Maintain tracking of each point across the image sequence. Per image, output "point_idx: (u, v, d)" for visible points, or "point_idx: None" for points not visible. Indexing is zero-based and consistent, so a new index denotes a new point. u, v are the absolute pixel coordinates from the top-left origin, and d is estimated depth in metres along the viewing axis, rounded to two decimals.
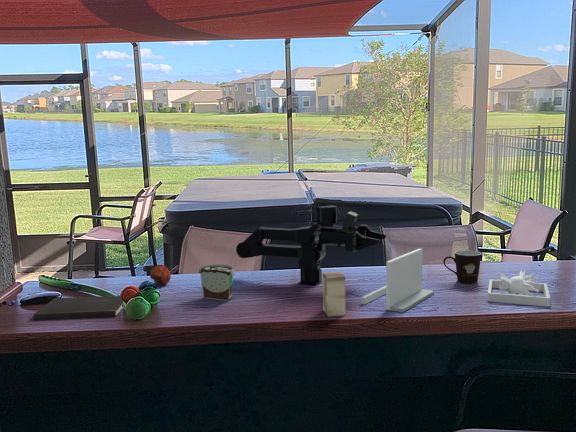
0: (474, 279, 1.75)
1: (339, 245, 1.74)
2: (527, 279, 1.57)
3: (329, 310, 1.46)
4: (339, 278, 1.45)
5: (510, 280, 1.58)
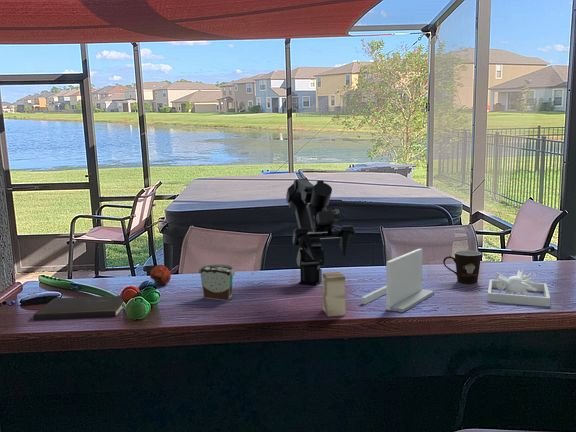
0: (474, 279, 1.75)
1: (311, 226, 1.66)
2: (525, 278, 1.58)
3: (329, 310, 1.46)
4: (339, 278, 1.45)
5: (508, 280, 1.59)
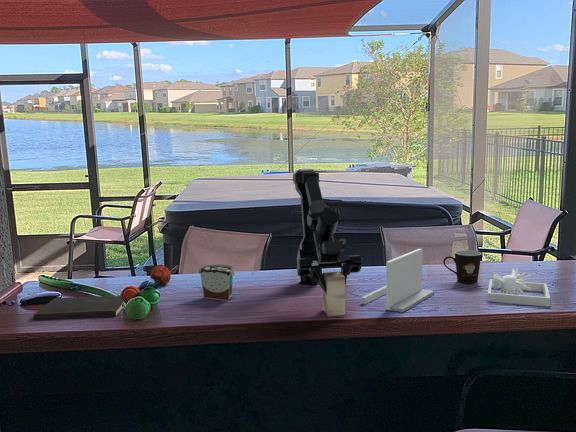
0: (474, 279, 1.75)
1: (317, 254, 1.57)
2: (519, 277, 1.59)
3: (329, 310, 1.46)
4: (339, 278, 1.45)
5: (503, 279, 1.60)
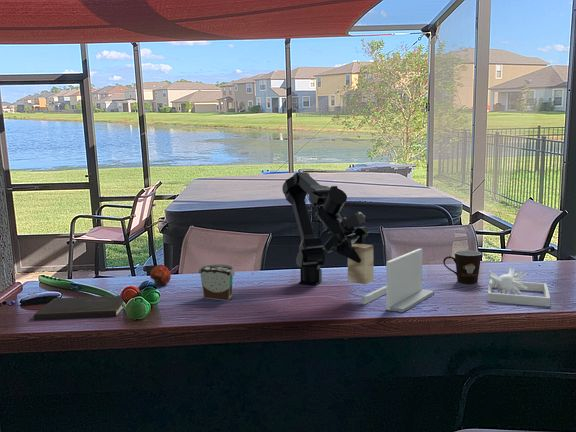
0: (474, 279, 1.75)
1: (327, 231, 1.62)
2: (516, 277, 1.60)
3: (365, 278, 1.56)
4: (370, 247, 1.57)
5: (499, 278, 1.61)
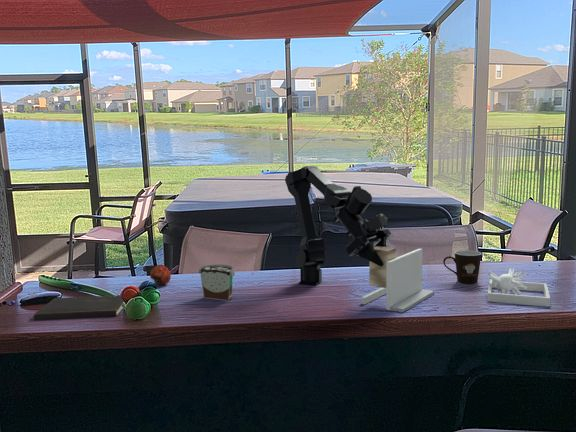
0: (474, 279, 1.75)
1: (348, 234, 1.58)
2: (516, 277, 1.60)
3: None
4: (393, 250, 1.53)
5: (499, 278, 1.61)
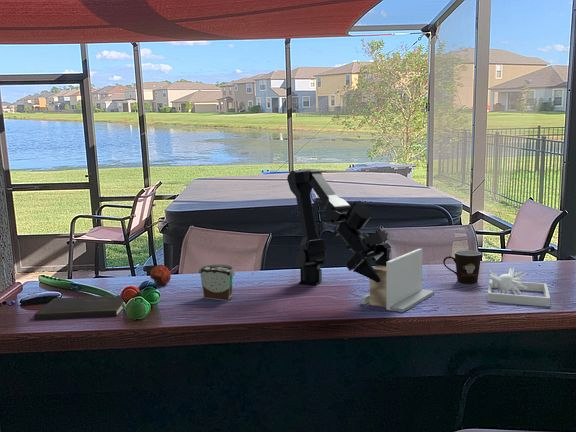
0: (474, 279, 1.75)
1: (348, 248, 1.58)
2: (516, 276, 1.61)
3: None
4: None
5: (499, 278, 1.61)
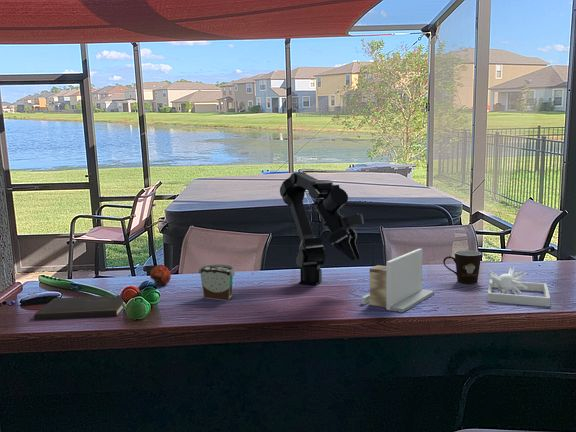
0: (474, 279, 1.75)
1: (325, 225, 1.64)
2: (516, 276, 1.61)
3: None
4: None
5: (499, 277, 1.62)
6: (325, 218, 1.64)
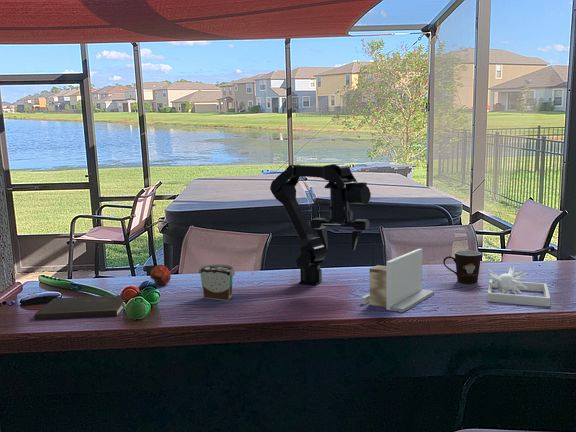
0: (474, 279, 1.75)
1: (344, 208, 1.67)
2: (516, 276, 1.61)
3: None
4: None
5: (499, 277, 1.62)
6: (345, 202, 1.68)
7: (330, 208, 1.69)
